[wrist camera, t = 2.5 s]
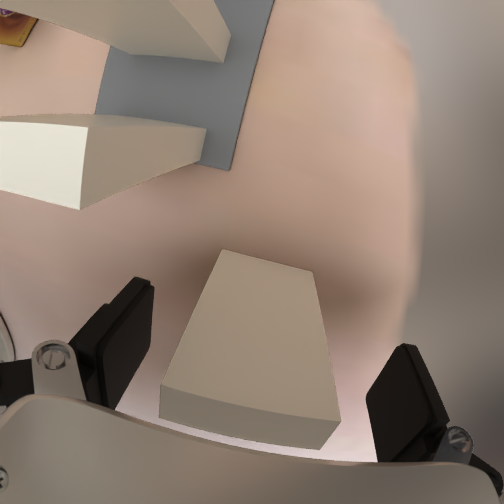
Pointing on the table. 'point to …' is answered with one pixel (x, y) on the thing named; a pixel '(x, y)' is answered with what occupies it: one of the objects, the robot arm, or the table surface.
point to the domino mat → (192, 83)
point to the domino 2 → (89, 154)
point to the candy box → (14, 27)
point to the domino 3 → (254, 358)
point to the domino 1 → (139, 24)
